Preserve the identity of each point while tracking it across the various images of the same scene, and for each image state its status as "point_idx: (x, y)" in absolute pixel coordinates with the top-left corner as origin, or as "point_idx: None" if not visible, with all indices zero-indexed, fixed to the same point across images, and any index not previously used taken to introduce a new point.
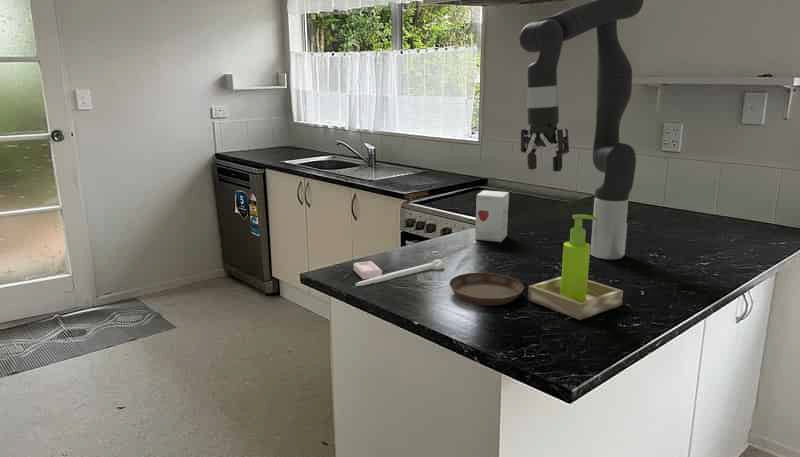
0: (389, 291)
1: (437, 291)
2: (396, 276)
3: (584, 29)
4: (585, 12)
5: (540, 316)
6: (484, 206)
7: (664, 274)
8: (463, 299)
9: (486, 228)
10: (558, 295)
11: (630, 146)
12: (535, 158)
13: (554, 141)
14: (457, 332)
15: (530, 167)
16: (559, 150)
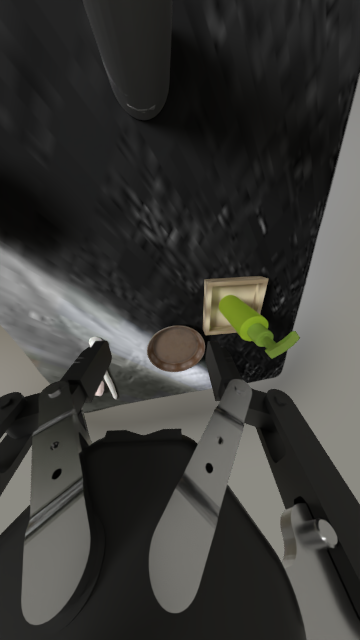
0: (135, 387)
1: (151, 366)
2: (108, 375)
3: None
4: None
5: (227, 340)
6: None
7: (260, 105)
8: (178, 364)
9: None
10: (234, 330)
11: None
12: (91, 369)
13: (206, 460)
14: (210, 384)
15: (109, 364)
16: (264, 430)
